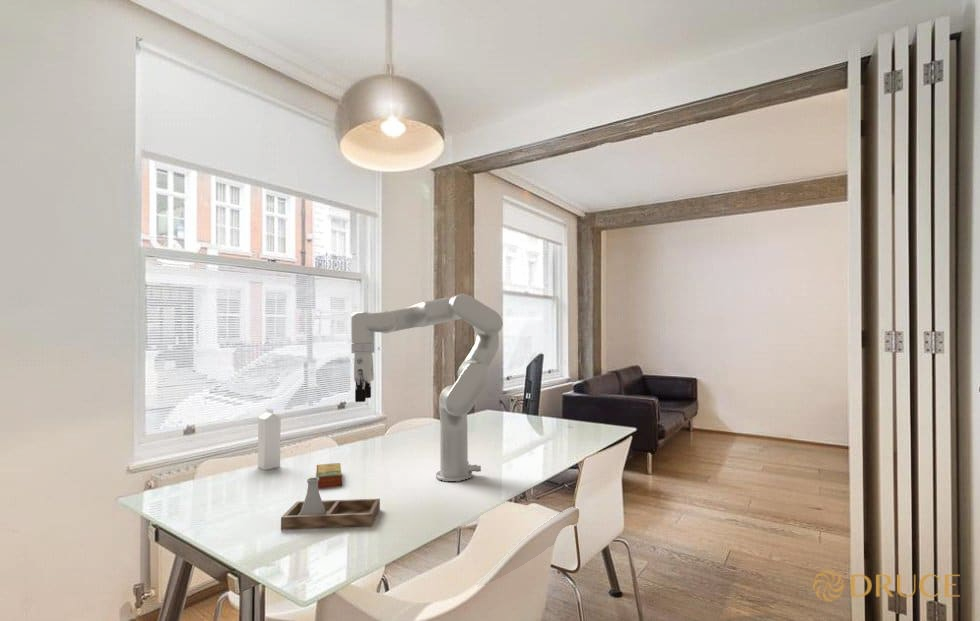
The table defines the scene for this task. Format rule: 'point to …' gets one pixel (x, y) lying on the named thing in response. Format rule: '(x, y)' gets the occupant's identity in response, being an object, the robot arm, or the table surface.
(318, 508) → the flask
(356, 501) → the holder
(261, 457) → the milk
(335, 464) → the carton
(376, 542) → the table surface
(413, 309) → the robot arm
